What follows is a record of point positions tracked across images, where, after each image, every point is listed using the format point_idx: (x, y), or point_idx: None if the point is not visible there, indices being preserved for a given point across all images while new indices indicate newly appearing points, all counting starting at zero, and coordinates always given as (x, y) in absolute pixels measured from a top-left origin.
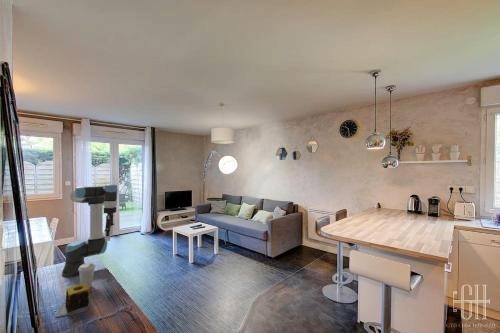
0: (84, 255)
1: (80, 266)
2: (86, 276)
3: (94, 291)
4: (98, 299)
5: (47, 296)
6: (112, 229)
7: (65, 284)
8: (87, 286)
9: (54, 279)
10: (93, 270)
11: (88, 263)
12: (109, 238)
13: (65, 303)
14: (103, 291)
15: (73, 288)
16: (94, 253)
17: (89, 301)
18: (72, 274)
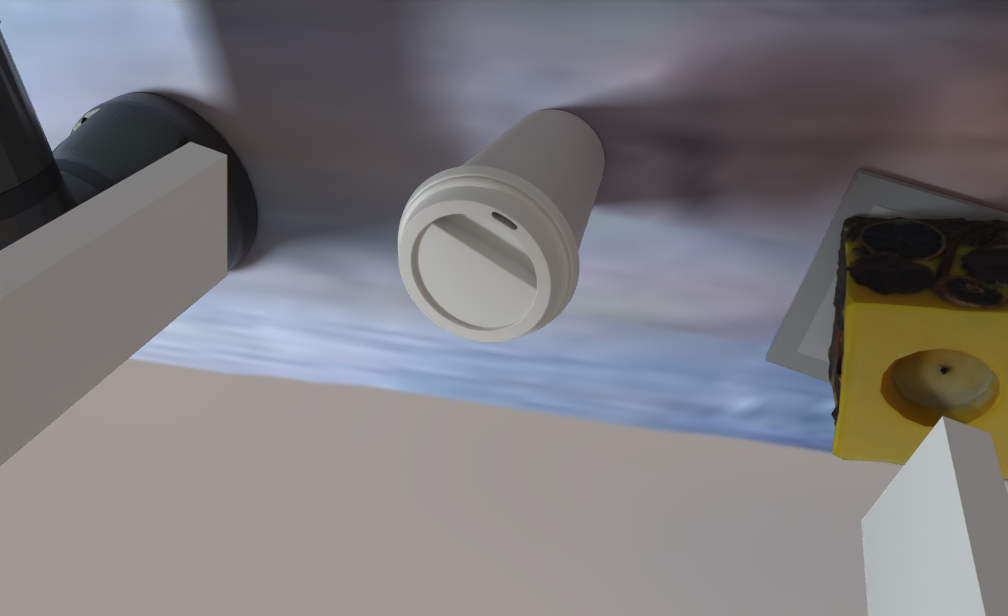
0: (65, 198)
1: (472, 335)
2: (582, 235)
3: (715, 110)
4: (955, 109)
5: (544, 398)
6: (64, 264)
7: (393, 279)
8: (987, 318)
9: (259, 320)
10: (537, 180)
11: (412, 247)
12: (999, 517)
13: (794, 347)
14: (791, 29)
15: (898, 419)
16: (19, 90)
17: (942, 197)
18: (246, 224)
